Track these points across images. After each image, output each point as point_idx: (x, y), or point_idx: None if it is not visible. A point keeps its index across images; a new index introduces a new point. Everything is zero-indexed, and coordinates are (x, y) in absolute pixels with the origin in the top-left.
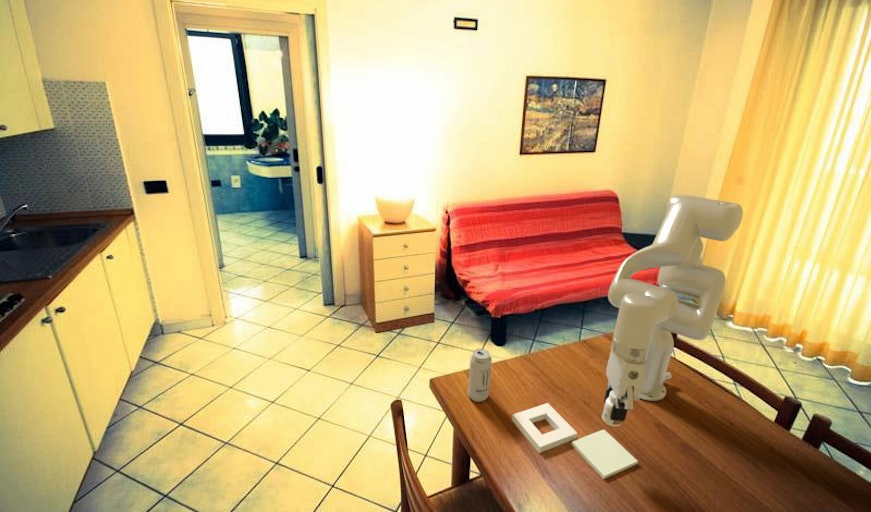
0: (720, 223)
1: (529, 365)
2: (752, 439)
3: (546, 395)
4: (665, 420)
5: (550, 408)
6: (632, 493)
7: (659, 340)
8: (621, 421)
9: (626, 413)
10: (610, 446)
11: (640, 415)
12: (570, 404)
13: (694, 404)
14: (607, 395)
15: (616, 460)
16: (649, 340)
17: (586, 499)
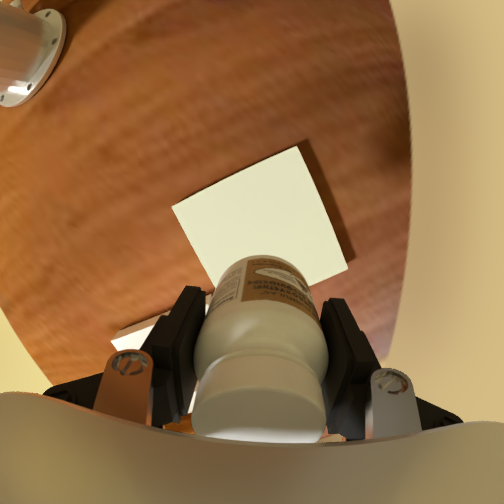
0: None
1: (13, 318)
2: None
3: (77, 316)
4: (127, 15)
5: (128, 342)
6: (385, 205)
7: None
8: (298, 274)
9: (358, 328)
10: (242, 210)
11: (106, 73)
12: (88, 267)
13: None
14: (192, 396)
15: (297, 212)
16: None
17: (387, 317)
